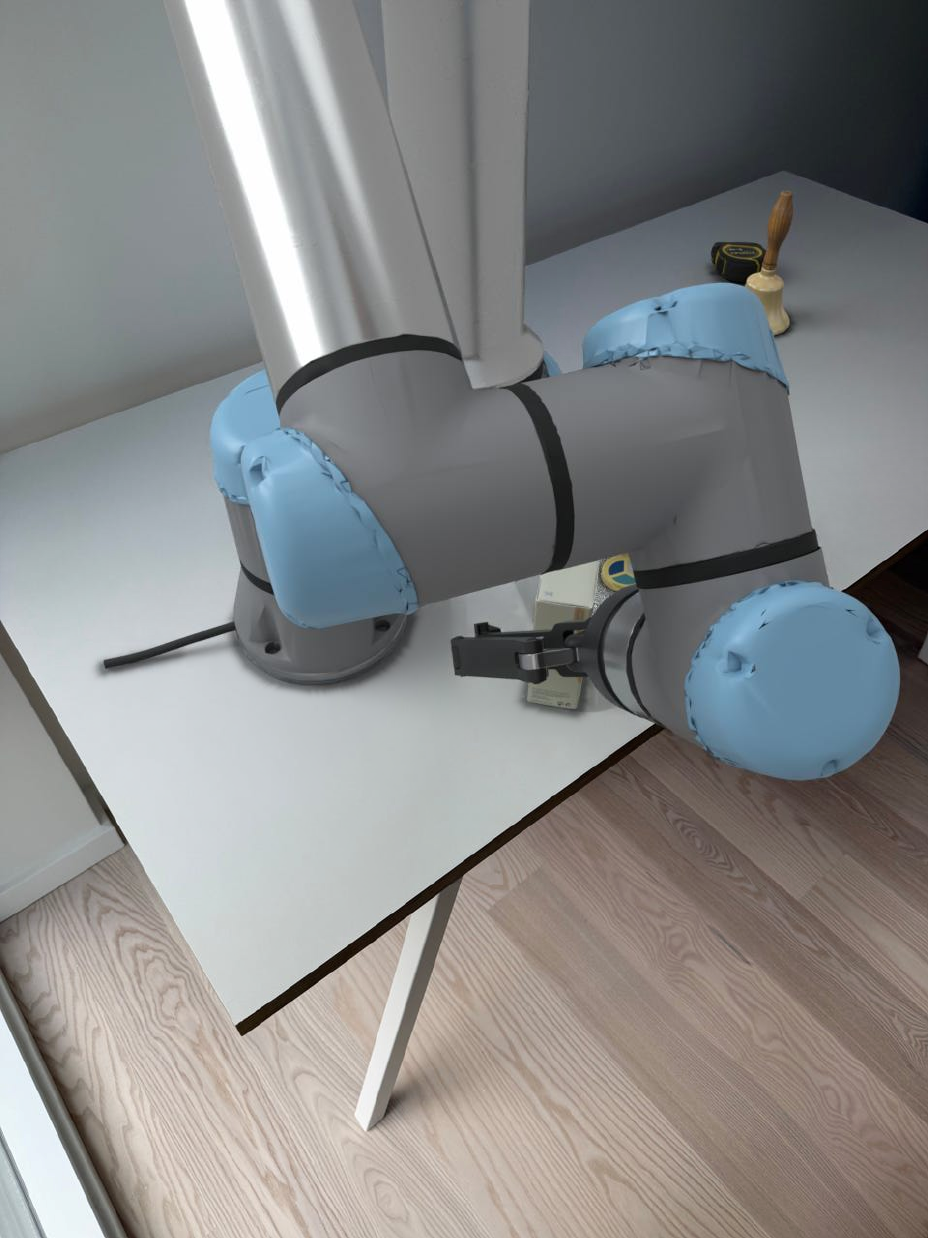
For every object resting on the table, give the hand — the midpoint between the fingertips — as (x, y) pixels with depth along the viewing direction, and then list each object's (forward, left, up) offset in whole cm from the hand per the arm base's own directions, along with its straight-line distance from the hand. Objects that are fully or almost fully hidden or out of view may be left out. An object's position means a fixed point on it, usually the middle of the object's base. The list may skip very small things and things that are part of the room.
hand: (570, 629), depth 68 cm
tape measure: (+47, +62, -8) cm, 78 cm away
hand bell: (+44, +50, -8) cm, 67 cm away
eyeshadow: (+10, +12, -8) cm, 18 cm away
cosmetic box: (0, +2, -8) cm, 9 cm away
